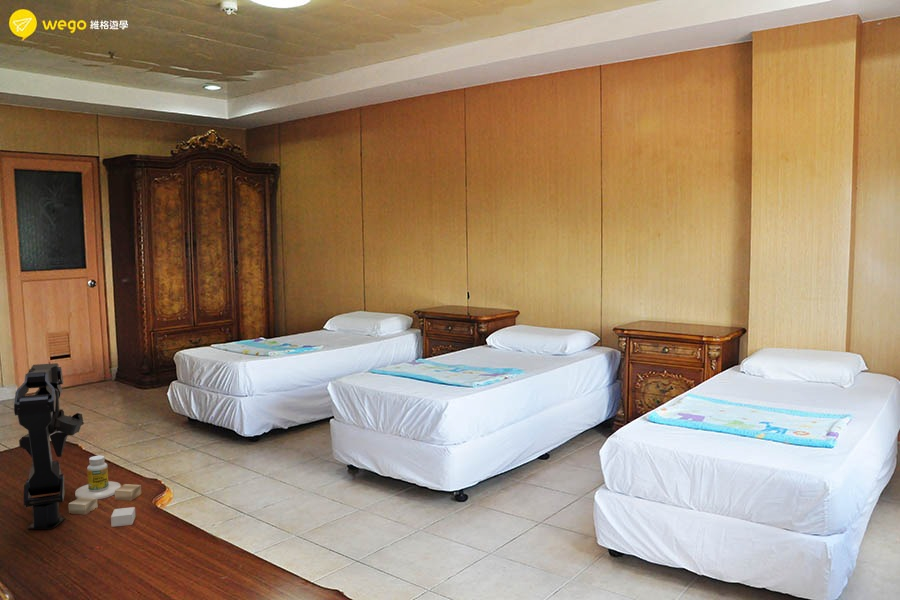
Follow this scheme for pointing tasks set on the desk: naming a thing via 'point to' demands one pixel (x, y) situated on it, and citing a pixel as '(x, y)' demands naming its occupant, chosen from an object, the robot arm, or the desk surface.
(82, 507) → the birch block
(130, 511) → the grey plastic block
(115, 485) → the cream saucer
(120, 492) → the oak block
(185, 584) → the desk surface
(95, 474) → the supplement bottle
